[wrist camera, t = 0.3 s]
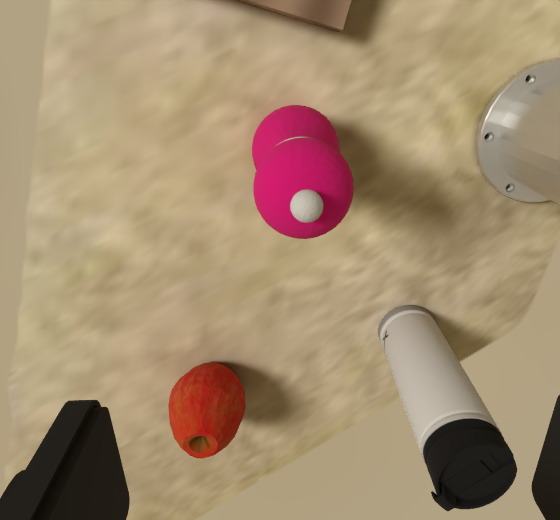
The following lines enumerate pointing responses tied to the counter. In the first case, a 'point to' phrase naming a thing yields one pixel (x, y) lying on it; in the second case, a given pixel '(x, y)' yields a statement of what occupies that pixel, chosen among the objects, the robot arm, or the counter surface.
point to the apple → (206, 409)
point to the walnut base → (309, 10)
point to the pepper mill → (300, 173)
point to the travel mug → (445, 413)
